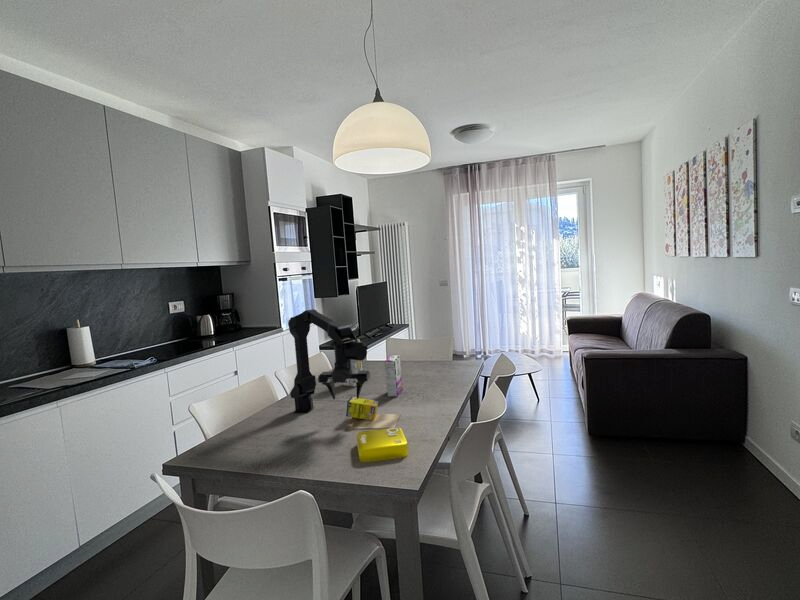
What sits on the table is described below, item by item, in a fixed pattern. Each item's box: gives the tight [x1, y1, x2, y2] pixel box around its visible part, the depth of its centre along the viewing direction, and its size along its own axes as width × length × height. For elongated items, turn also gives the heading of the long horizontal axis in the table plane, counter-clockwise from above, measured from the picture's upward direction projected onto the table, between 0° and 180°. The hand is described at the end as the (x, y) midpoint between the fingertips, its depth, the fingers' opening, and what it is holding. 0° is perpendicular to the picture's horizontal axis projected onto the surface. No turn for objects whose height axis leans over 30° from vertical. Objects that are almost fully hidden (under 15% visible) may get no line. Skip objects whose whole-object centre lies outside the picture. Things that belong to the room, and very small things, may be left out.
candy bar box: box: [384, 354, 403, 398], centre depth 196 cm, size 11×5×16 cm, turn 168°
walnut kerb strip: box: [345, 417, 359, 431], centre depth 163 cm, size 2×16×2 cm, turn 171°
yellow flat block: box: [356, 426, 409, 463], centre depth 137 cm, size 15×15×5 cm
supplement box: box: [345, 396, 379, 421], centre depth 165 cm, size 6×6×11 cm
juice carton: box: [342, 338, 363, 387], centre depth 216 cm, size 9×8×24 cm
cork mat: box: [352, 413, 401, 430], centre depth 162 cm, size 16×14×1 cm
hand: (346, 398), depth 163 cm, fingers open, 9 cm apart
